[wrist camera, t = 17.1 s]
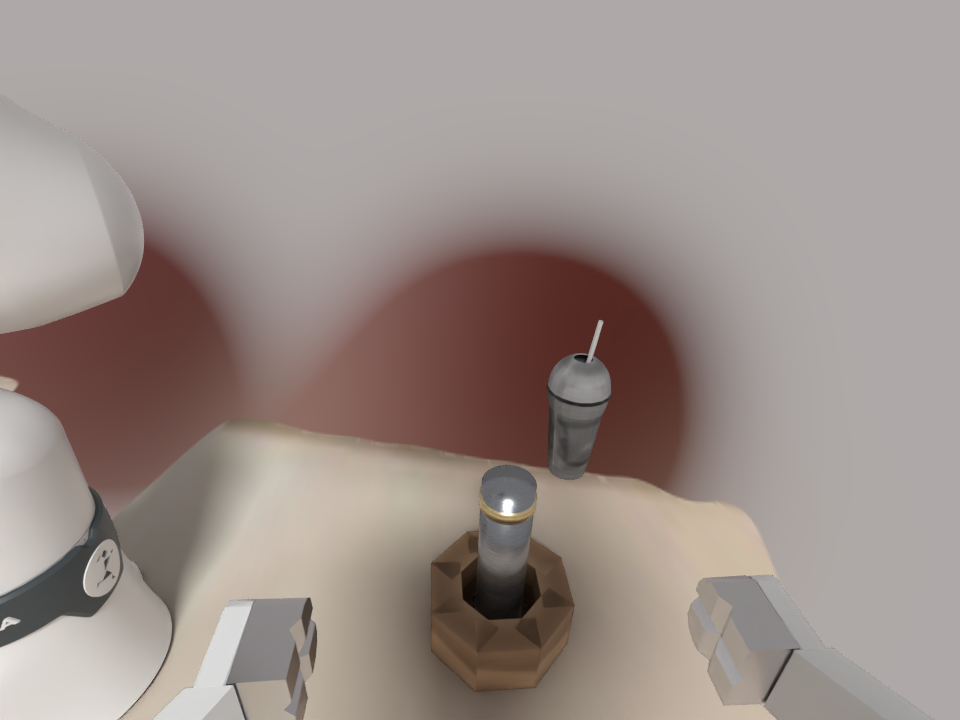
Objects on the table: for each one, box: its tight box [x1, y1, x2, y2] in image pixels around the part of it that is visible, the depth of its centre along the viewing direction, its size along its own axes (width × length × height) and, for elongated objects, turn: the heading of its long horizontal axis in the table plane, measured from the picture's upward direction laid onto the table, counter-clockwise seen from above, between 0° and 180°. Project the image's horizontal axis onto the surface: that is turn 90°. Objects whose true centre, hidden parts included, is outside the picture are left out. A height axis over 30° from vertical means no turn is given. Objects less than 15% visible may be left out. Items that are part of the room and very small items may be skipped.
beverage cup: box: [547, 320, 611, 480], centre depth 58 cm, size 7×7×20 cm
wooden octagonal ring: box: [431, 531, 575, 692], centre depth 44 cm, size 12×12×5 cm
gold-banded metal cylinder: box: [475, 465, 537, 620], centre depth 41 cm, size 4×4×16 cm
